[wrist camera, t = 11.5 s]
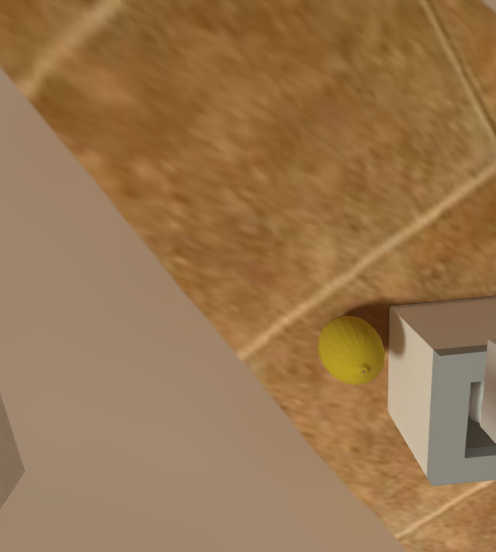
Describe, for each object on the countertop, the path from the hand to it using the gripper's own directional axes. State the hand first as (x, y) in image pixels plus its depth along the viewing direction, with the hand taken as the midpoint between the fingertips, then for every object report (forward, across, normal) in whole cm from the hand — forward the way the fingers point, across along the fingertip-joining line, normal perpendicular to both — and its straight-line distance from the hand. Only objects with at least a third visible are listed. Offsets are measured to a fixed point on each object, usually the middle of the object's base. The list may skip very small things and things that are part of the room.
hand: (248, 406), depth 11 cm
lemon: (+27, +9, -11) cm, 30 cm away
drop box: (+27, +20, -15) cm, 36 cm away
